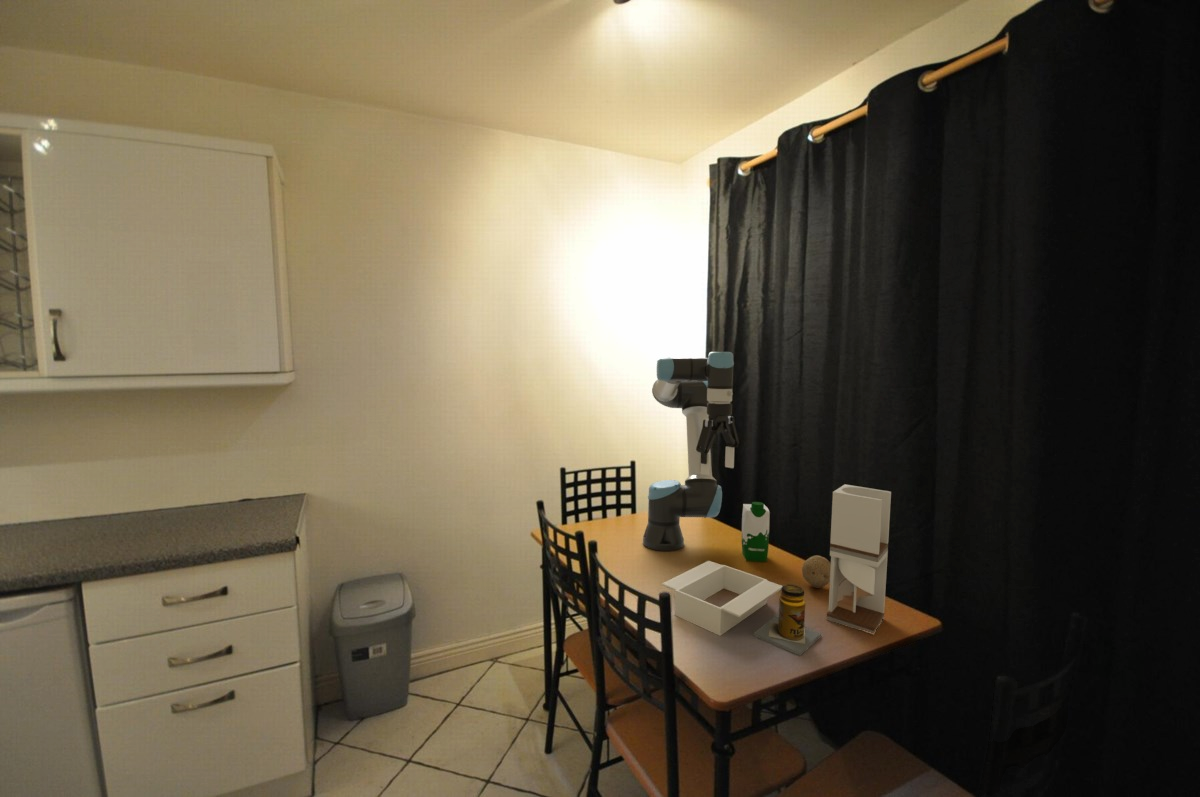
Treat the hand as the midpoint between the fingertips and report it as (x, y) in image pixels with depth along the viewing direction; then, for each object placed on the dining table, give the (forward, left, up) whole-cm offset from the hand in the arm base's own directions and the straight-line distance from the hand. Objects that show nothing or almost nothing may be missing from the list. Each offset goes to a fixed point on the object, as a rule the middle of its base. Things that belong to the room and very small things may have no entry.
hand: (717, 470), depth 159 cm
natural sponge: (+25, +17, -35) cm, 46 cm away
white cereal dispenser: (+40, +6, -35) cm, 53 cm away
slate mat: (+31, -15, -35) cm, 49 cm away
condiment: (+31, -15, -34) cm, 48 cm away
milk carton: (0, +25, -35) cm, 43 cm away
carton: (+12, -15, -35) cm, 40 cm away
